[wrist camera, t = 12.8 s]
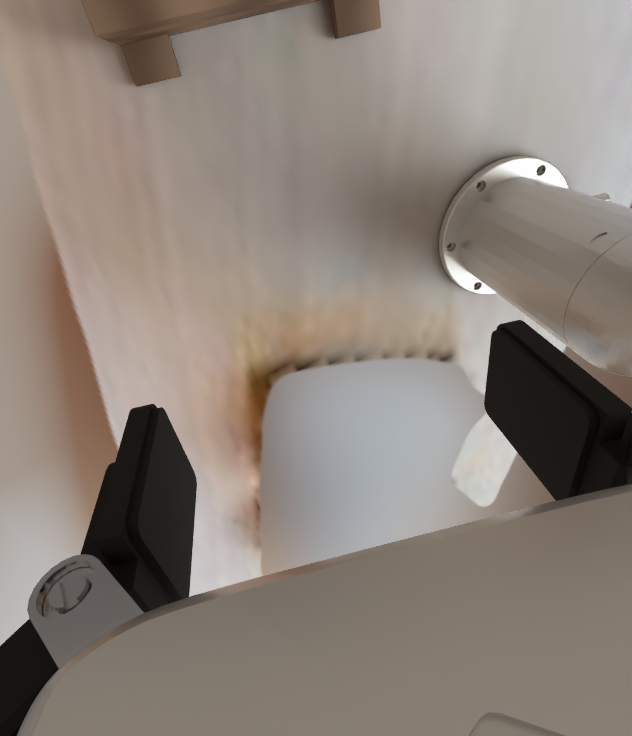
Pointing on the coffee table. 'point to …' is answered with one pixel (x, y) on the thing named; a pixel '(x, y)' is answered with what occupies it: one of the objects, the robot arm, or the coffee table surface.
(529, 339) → the robot arm
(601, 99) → the coffee table surface
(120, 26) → the screen
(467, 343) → the coffee table surface
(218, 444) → the coffee table surface
